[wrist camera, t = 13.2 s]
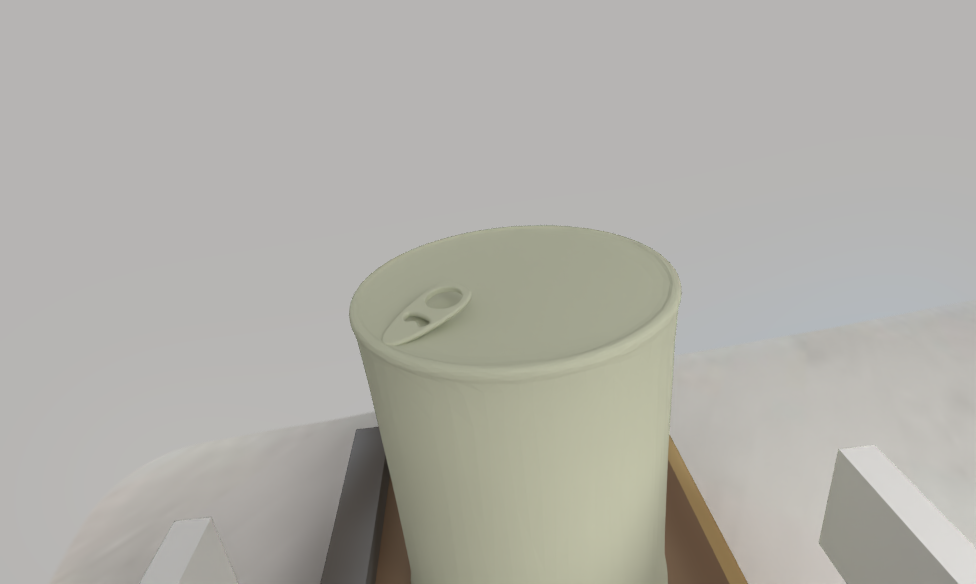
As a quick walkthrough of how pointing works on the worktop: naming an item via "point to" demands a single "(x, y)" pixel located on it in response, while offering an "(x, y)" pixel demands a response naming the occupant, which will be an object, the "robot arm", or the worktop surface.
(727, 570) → the brown wooden tray
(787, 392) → the worktop surface
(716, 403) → the worktop surface
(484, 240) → the can
